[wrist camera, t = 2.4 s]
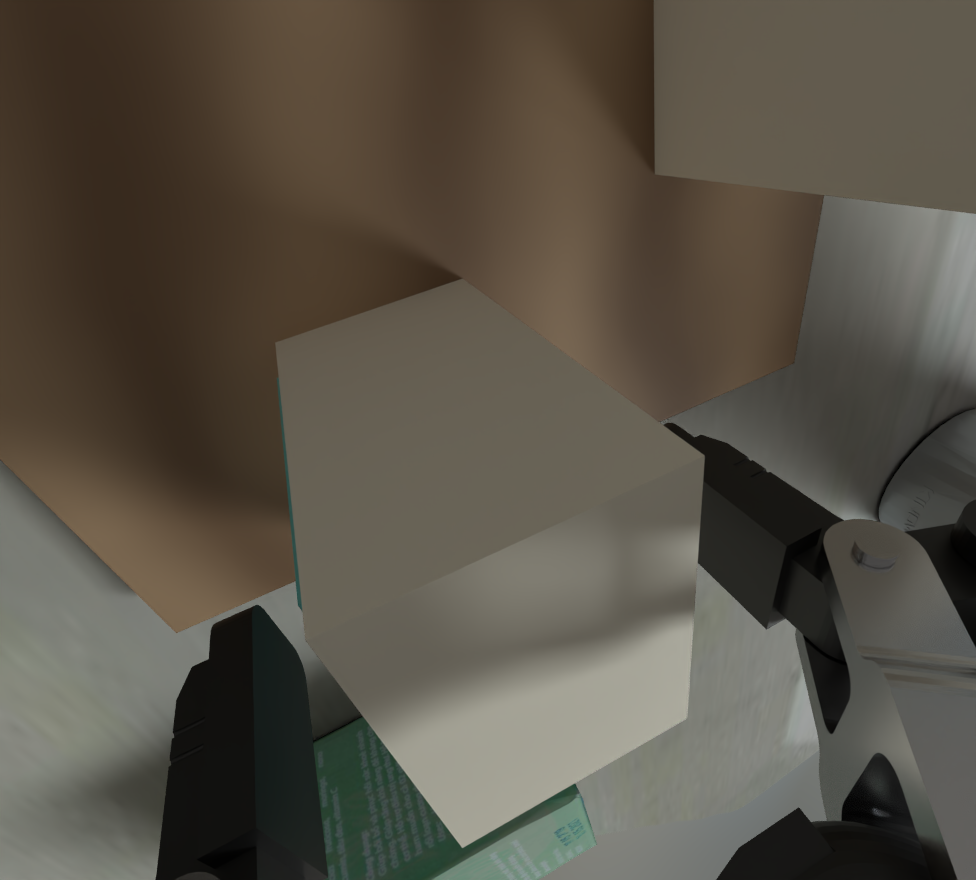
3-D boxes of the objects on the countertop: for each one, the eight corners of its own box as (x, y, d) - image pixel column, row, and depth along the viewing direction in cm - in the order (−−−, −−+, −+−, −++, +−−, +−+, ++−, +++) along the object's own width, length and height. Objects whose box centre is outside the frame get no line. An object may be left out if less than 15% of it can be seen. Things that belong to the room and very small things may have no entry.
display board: (856, -330, 11) (985, -427, 9) (763, 349, 21) (816, 372, 19) (-538, -176, 7) (-872, -303, 5) (181, 597, 17) (172, 660, 15)
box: (236, 776, 22) (233, 1008, 17) (505, 632, 25) (586, 791, 19) (310, 826, 27) (328, 1022, 21) (532, 700, 29) (605, 845, 23)
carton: (269, 344, 12) (290, 646, 5) (462, 278, 13) (704, 455, 6) (367, 536, 16) (454, 852, 9) (509, 475, 17) (686, 718, 10)
